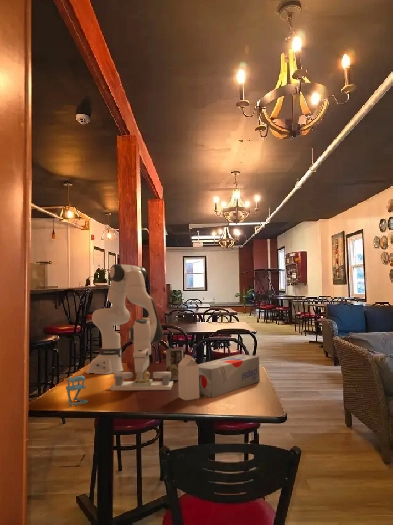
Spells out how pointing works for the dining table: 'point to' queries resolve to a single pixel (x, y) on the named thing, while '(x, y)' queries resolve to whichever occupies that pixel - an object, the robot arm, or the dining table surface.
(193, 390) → the milk carton
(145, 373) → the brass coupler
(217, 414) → the dining table surface
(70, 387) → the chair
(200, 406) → the dining table surface
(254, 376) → the soda pack
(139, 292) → the robot arm
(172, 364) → the coffee box
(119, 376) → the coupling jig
